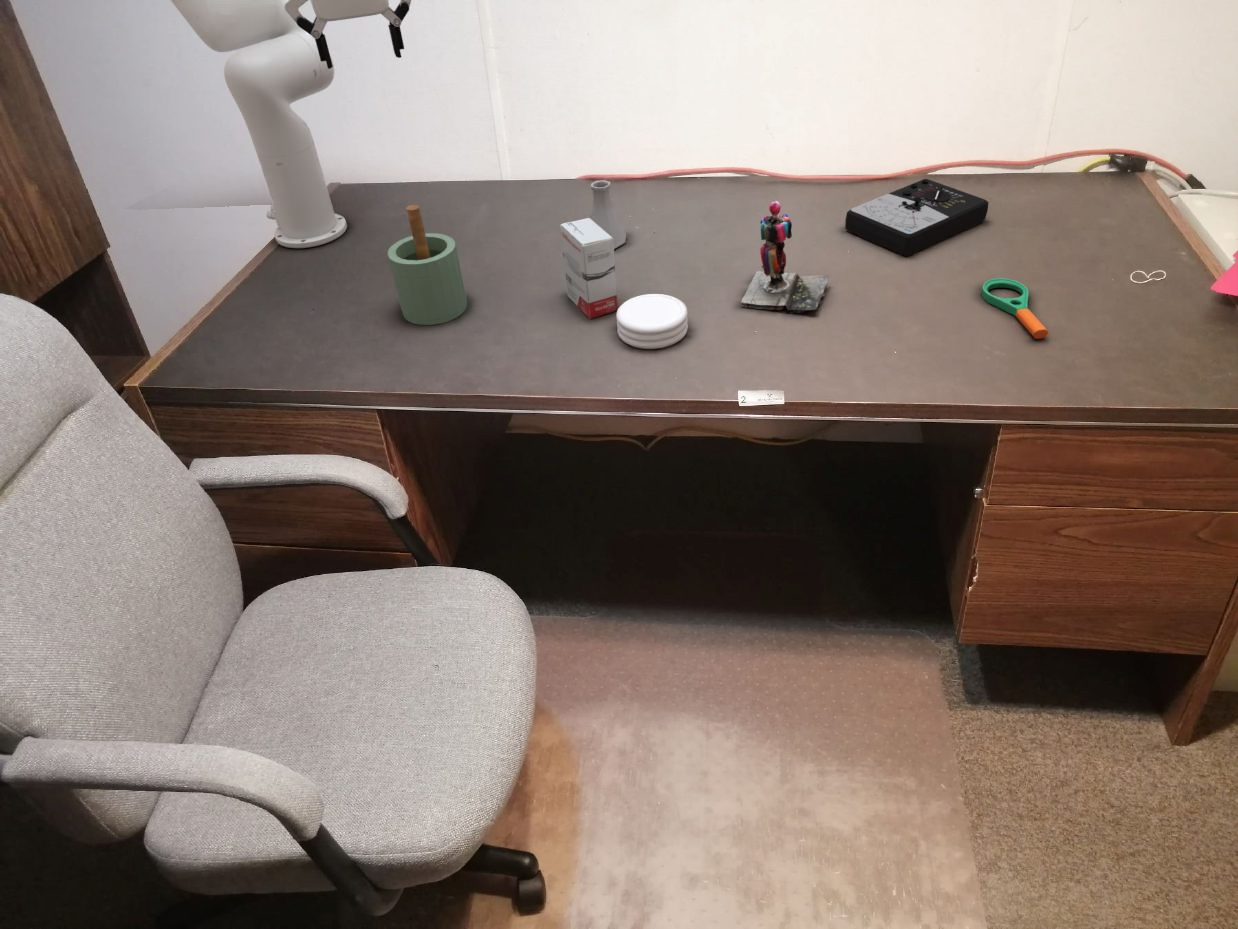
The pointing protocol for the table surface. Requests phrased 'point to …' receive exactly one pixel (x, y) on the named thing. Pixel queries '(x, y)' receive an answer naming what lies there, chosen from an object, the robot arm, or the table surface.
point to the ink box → (589, 267)
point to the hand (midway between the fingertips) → (364, 60)
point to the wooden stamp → (418, 232)
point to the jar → (428, 280)
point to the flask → (606, 212)
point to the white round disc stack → (652, 321)
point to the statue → (781, 272)
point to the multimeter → (916, 216)
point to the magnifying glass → (1014, 304)
